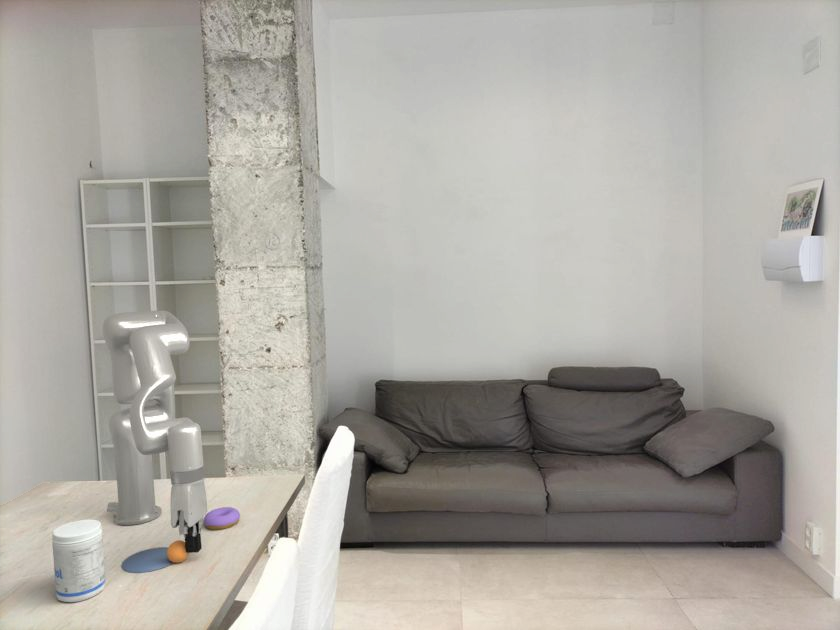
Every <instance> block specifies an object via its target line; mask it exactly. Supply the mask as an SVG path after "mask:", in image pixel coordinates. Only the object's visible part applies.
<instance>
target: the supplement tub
mask: <svg viewBox="0 0 840 630" xmlns="http://www.w3.org/2000/svg"><path fill="white" fill-rule="evenodd" d="M103 537H104V536H103V527H102V523H101V522H100V521H99V520H96V519H80V520H74V521H71V522H67V523H64V524H61V525H60V526H58V527H56V528H55V529H54V530H53V531H52V539H51V540H52V554H53V555H52V556H53V571H54V583H55V586H54V587H55V596H56V599H58V600H59V601H61V602H65V603H78V602H81V601H85V600H88V599H91V598H93V597H96V596H97V595H98V594H100V593H101V592H102V591H103V590H104V589H105V587H106V572H105V571H106V570H105V555H104V538H103Z"/></svg>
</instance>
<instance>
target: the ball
mask: <svg viewBox="0 0 840 630" xmlns="http://www.w3.org/2000/svg"><path fill="white" fill-rule="evenodd" d="M189 554H190V553H187V552H186V547H185V540H175V541H172V542H171V543H170V544H169V546H168V550H167V556H168V558H169V560H170V561H172V562H174V564H175V563H177V564H179V563H181V562H183V561H185V560H186V559H187V558H188V557H189Z"/></svg>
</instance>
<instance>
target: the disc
mask: <svg viewBox="0 0 840 630" xmlns="http://www.w3.org/2000/svg"><path fill="white" fill-rule="evenodd" d="M168 547H169V546H168ZM168 547H167V546H163V547H152V548H148V549H144V550H140V551H138V552H135V553H133V554H131V555H129V556H128V557H126V558H125V559H124V560H123V561H122V562H121V569H122V570H123V571H125V572H127V573H133V574H134V573H135V574H137V573H138V574H139V573H140V574H141V573H148V572H149V573H150V572H154V571H157V570H158V571H159V570H161V569H164V568H167V567H168V566H170V565H172V564H175V562H172V561H170V560H169V558H168V556H167V550H168Z"/></svg>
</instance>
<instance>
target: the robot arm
mask: <svg viewBox="0 0 840 630" xmlns="http://www.w3.org/2000/svg"><path fill="white" fill-rule="evenodd" d="M102 334H103V339H104V341H105V344H106V346H107V348H108V351H109V354H110V358H111V373H112V374H111V377H112V378H111V379H112V390H113V398H114V400H115V401H116V403H118V404H120V405H130V407H127V408H123V409H119V410H117V411H116V412H114V413H112V414H111V416H110V417H109V420H108V428H109V433H110V437H111V440H112V444H113V453H114V459H115V461H114V462H115V463H114V464H115V473H116V474H115V475H116V487H117V488H116V489H117V500H118V501H117V502H114V501H113V502H110V501H109V502H108V503H107V506H106V507H107V508H106V512H111V513H112V512H114V513H115V514H114V516H113V518H112V519H113V523H114V524H116V525H118V526H133V525H139V524H144V523H149V522H150V521H153V520H155V519H157V518H159V517H160V516H161V514H162V513H163V512H162V508H161V507H160V506H158V505H156V495H155V483H154V482H155V481H154V480H155V479H154V467H153V466H154V465H153V455H157V454H158V455H159V454H162V453H166V452H167V453H168V461H169V471H170V482H171V483H170V484H171V489H170V524H171V525H170V526H171V527H172V528H173V529H176V528H177V527H178V534H179V535H180V536H181V535H183V538H184V542H185V547H186V552H187V553H189V554H190V553H192V554H193V553H199V552H200V551H201V550H202V536H201V535H202V534H201V532H202V522H203V520H204V518H205V516H206V514H207V513H208V502H207V501H208V500H207V493H206V492H207V491H206V486H205V480H206V478H205V477H206V476H205V466H204V465H205V464H204V452H203V441H202V430H201V426H200V424H199V423H197V422H195V421H193V420H192V419H190V418H189V417H179V418H178V417H177V418H176V397H175V382H176V380H177V376H176V371H175V369H174V365H173V362H172V358H171V356H175V355H183V354H185V353H187V351H189V348H190V344H191V343H190V342H191V340H190V336H189V332H188V330H187V328H186V326H185V325H184V324H183V323H182V321H180V320H179V318H177V317H176V316H175V315H174V314H173V313H171V312H170V311H167V310H163V309H162V310H148V311H147V310H146V311H129V312H127V311H126V312H119V313H114V314H111V315H108V316H107V317H106V318H105V319H104V321H103V322H102ZM152 401H154V402H155V403H152V404H147V402H152ZM146 404H147V405H146Z"/></svg>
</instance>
